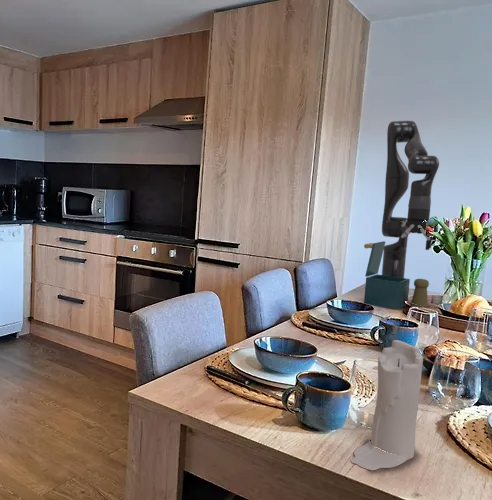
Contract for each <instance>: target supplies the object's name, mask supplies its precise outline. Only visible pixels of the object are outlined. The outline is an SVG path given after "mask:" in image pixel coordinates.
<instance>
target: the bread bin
mask: <svg viewBox="0 0 492 500" xmlns="http://www.w3.org/2000/svg"><path fill="white" fill-rule="evenodd" d="M410 282H411V279H410V278H405V277H404V278H399V277H392V276H385V275H382V274H379V273H378V274H374V275H371V276H368V277H366V276H365V286H364V298H363V304H364V303H366V304H365V305H369V306H370V305H371V306H374V307H375V306H376V307H381V308H387V309H391V310H400V309H402V308H404V307H407V306H406V304H404V302H405V301H408V302H409V293H410Z"/></svg>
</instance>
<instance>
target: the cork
mask: <svg viewBox="0 0 492 500" xmlns="http://www.w3.org/2000/svg"><path fill="white" fill-rule="evenodd" d="M429 285H430V282H429V280H428V279H424V278H416V279H414V281H413V286H414V290H413V295H412V299H411V302H412V303H414V304H412V303H410V306H411V307H413V306H416V307H424V308H423V309H428V308H429V303H428V287H429ZM415 304H417V305H415ZM420 305H421V306H420ZM416 307H415V308H416Z"/></svg>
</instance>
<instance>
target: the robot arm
mask: <svg viewBox="0 0 492 500" xmlns="http://www.w3.org/2000/svg"><path fill="white" fill-rule="evenodd" d="M386 130H387V131H386V136H387V137H386V148H387V149H386V152H387V154H386V155H387V156H386V171H385V181H384V182H385V184H384V185H385V186H384V187H385V188H384V206H383V214H382V221H381V234H382V236H383V237H386V238H395V239H396V238H398V240H397V241H395V242H393V243H390V244H385V246H384V250H383V254H382V267H381V275H385V276H392V277H399V278H405V271H406V259H407V258H406V257H407V248H408V240H409V235H410V234H417V235H418V234H420V235H421V234H422V235H423V236H424V238H425V239H426V241H425V251H429V250H430V249H431V248H432V242H433V240H434V239H433V238H432V236H431V237H427V236H426V231H425V228H426V222H425V221H424V222H423V220H424V219H425V220H426V221H428V220H429V221H430V216H431V205H432V199H431V198H432V187H433V183H434V181H435V178H436V174H437V172H438V170H439V167H440V160H439V158H438V157H437V156H436V155H429V153H428V151H427V149H426V147H425V146H424V145H423V142H422V139H421V136H420V135H421V134H420V131H419V127H418V125H417V123H416V122H415V121H414V120H392V121H390V122H389V124H388V126H387V129H386ZM399 143H400V144H401V143H406V144H405V145H404V149H403V151H404V155H405V156H406V158H407V161H408V163H407V165H406V164H405V163H404V161H403V160H402V158H401V157H400V154H399V151H398V146H397V144H399ZM410 173H411V174H415V175H425V176H424V177H423V178H421V179H416V180H413V181H412V182H411V185H410V194H409V195H410V196H409V200H408V205H407V207H408V209H407V217H402V216H401V217H400V216H393V213H394V209H395V207H396V206H397V204H398V202H399V201H400V200H401V199H402V198H403V196H404V195H405V194H406V192H407V191H408V189H409V181H410ZM422 222H423V223H422ZM421 225H422V226H421ZM421 227H422V228H421ZM419 228H421V229H420V230H419ZM434 232H438V233H439V225H438V226H436V227H435V228H434Z"/></svg>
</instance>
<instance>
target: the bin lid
mask: <svg viewBox="0 0 492 500" xmlns="http://www.w3.org/2000/svg"><path fill="white" fill-rule="evenodd" d="M385 245H386V241H384V240H383V241H379V242H374V243H373V242H368V243H364V245H363V247H364V249H370V254H369V258H368V263H367V267H366V271H365V275H364V276H365V278H366V277H370V276H373V275H376V274H378V275H379V269H380V266H381V262H382V259H383V253H384V246H385Z"/></svg>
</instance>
